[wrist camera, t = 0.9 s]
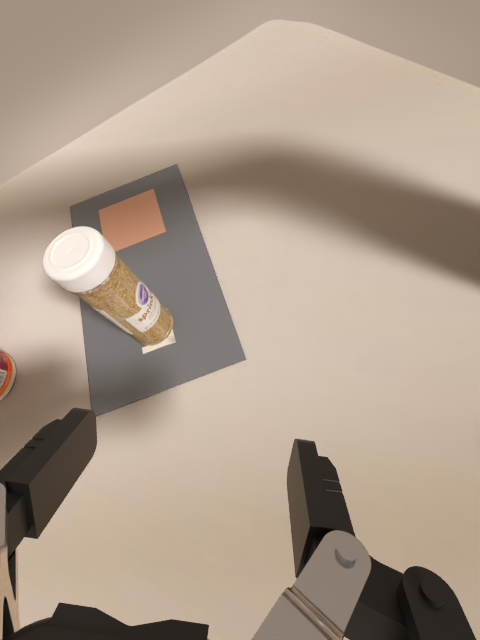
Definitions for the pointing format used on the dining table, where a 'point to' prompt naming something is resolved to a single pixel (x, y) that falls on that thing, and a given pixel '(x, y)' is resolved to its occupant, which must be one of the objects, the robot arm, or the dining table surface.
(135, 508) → the dining table surface
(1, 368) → the pill bottle
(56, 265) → the sprinkles bottle
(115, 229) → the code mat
